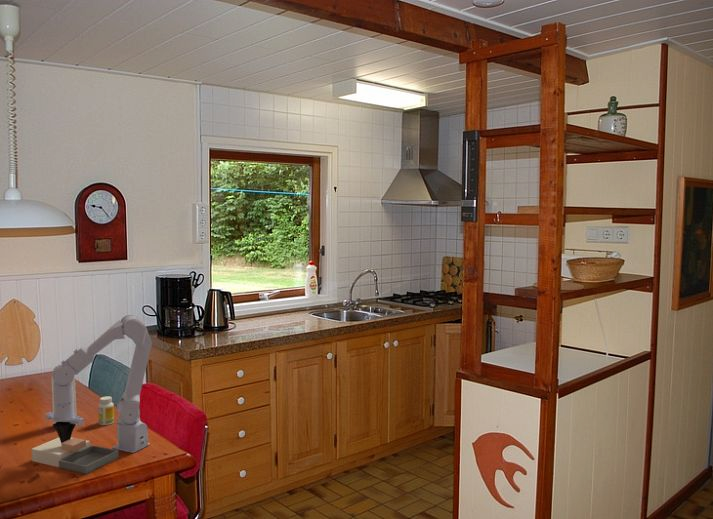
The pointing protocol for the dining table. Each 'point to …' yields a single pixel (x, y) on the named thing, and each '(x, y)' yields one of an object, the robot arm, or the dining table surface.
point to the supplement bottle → (106, 411)
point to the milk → (73, 395)
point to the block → (73, 444)
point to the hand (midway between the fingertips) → (65, 443)
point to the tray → (88, 459)
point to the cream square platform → (52, 452)
